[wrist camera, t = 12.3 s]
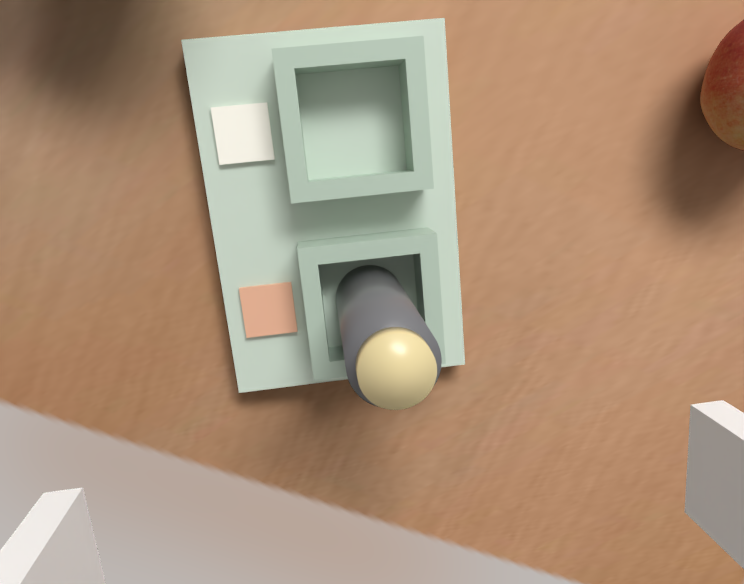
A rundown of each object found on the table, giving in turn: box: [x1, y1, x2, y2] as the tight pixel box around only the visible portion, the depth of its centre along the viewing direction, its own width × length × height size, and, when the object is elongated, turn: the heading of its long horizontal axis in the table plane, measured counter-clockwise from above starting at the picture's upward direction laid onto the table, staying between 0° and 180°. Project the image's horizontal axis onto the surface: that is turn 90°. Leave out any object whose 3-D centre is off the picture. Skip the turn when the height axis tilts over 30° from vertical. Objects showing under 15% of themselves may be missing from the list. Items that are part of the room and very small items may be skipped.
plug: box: [336, 265, 442, 410], centre depth 29 cm, size 4×4×12 cm
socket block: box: [181, 18, 465, 393], centre depth 33 cm, size 14×20×4 cm
